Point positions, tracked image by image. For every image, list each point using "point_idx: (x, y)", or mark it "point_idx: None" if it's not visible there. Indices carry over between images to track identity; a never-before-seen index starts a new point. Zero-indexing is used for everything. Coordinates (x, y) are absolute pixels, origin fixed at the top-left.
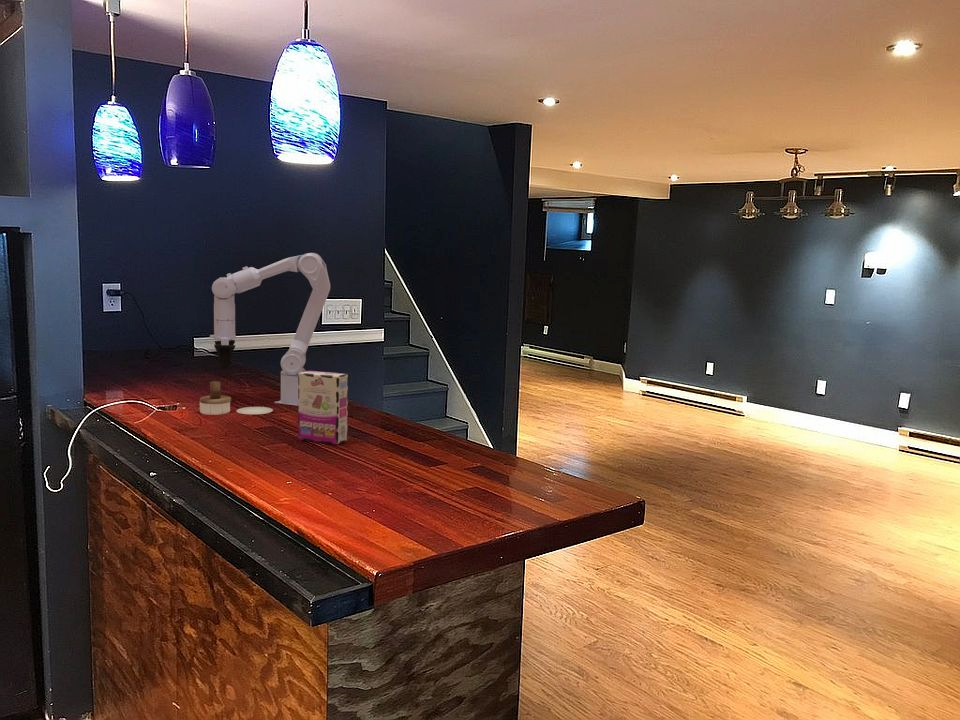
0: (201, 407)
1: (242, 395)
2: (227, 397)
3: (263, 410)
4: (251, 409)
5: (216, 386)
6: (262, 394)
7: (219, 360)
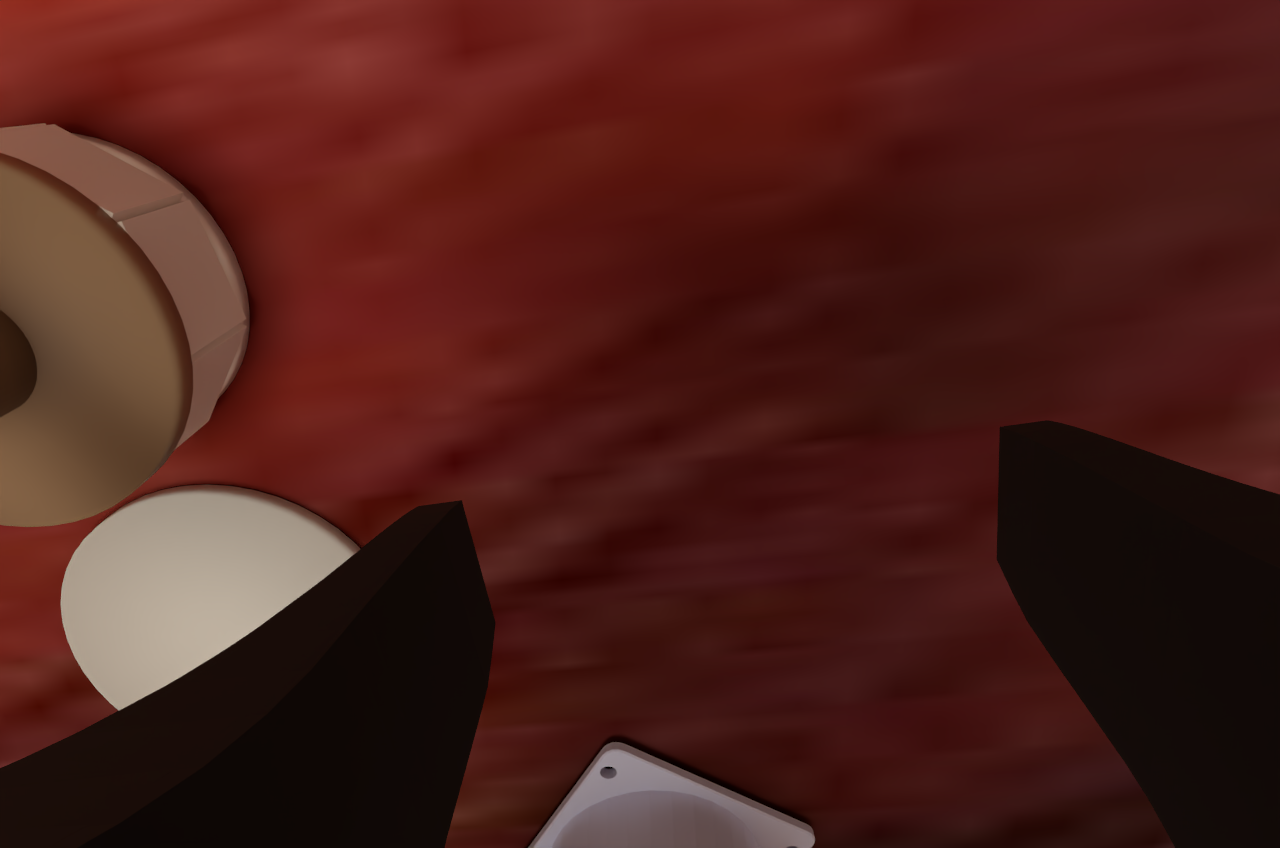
0: None
1: (1098, 432)
2: (58, 486)
3: None
4: (265, 612)
5: None
6: None
7: (299, 598)
